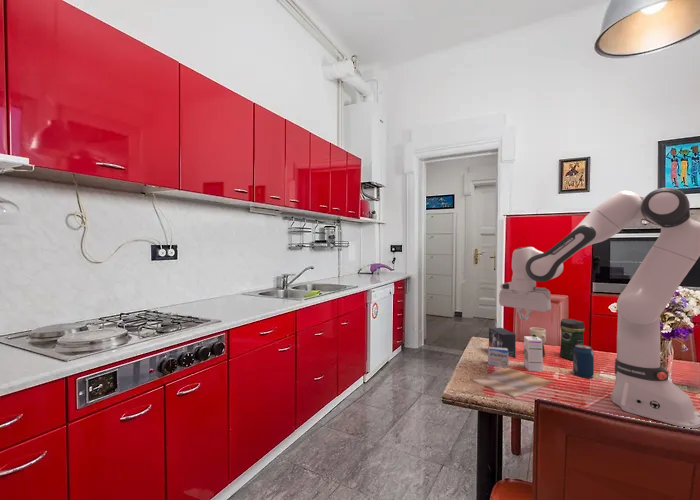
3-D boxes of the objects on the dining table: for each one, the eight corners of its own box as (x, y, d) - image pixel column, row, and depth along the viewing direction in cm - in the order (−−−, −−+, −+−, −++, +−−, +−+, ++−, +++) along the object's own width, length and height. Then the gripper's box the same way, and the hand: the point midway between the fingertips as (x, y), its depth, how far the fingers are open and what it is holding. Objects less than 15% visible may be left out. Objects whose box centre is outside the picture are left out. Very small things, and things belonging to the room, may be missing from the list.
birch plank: (527, 396, 118) (527, 392, 118) (514, 400, 114) (514, 396, 114) (482, 379, 133) (483, 376, 133) (469, 382, 129) (470, 378, 129)
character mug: (523, 352, 169) (523, 326, 169) (537, 351, 170) (537, 326, 170) (538, 359, 158) (538, 331, 158) (552, 358, 159) (552, 331, 159)
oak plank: (496, 375, 138) (496, 371, 138) (507, 370, 142) (507, 367, 142) (540, 391, 123) (540, 387, 122) (552, 385, 127) (552, 381, 127)
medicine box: (488, 368, 146) (488, 348, 146) (487, 365, 150) (487, 345, 150) (508, 370, 143) (508, 350, 143) (507, 367, 148) (507, 347, 148)
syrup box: (543, 375, 138) (543, 340, 138) (527, 374, 139) (527, 339, 139) (538, 370, 144) (538, 336, 144) (523, 369, 145) (523, 335, 145)
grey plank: (540, 391, 122) (540, 387, 122) (528, 396, 118) (528, 392, 118) (495, 375, 138) (495, 371, 138) (483, 379, 133) (483, 375, 133)
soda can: (596, 376, 137) (597, 347, 137) (588, 379, 133) (588, 349, 133) (578, 371, 143) (578, 343, 143) (569, 374, 139) (569, 345, 139)
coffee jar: (588, 360, 156) (588, 321, 156) (574, 362, 154) (575, 322, 154) (569, 354, 166) (569, 317, 166) (556, 355, 163) (557, 317, 163)
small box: (488, 351, 171) (488, 327, 171) (500, 350, 172) (501, 327, 172) (502, 359, 158) (502, 334, 158) (516, 359, 158) (516, 333, 158)
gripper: (554, 287, 131) (554, 323, 131) (505, 283, 148) (505, 315, 148) (546, 288, 127) (546, 325, 127) (496, 284, 144) (497, 316, 144)
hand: (524, 319), depth 138 cm, fingers closed
